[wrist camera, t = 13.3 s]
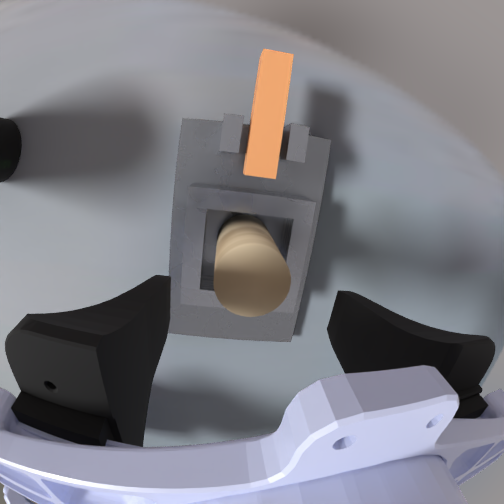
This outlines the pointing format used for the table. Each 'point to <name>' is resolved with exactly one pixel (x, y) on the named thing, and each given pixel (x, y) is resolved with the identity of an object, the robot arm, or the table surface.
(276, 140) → the pin
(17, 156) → the cup
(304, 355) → the table surface
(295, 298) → the dock
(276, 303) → the peg
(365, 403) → the robot arm
